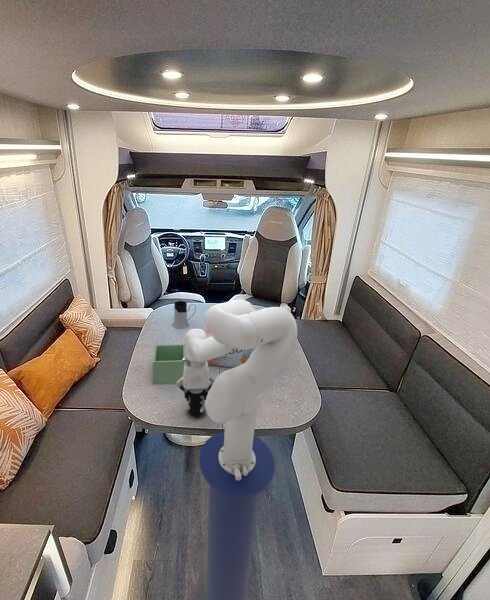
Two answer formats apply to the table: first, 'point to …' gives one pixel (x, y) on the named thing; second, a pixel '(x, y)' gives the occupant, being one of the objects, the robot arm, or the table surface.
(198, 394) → the beverage can
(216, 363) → the soda box
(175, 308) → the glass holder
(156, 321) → the table surface
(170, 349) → the trash bin
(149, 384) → the table surface
